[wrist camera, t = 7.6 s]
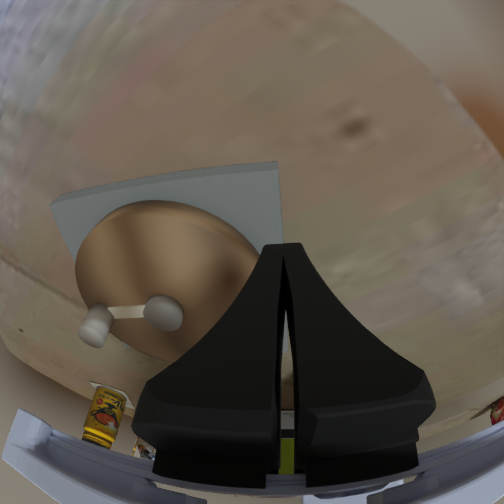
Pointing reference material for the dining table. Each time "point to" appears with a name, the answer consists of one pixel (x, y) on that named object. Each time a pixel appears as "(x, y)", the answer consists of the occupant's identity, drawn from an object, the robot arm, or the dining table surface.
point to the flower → (497, 412)
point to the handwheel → (160, 276)
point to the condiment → (105, 415)
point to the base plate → (188, 192)
